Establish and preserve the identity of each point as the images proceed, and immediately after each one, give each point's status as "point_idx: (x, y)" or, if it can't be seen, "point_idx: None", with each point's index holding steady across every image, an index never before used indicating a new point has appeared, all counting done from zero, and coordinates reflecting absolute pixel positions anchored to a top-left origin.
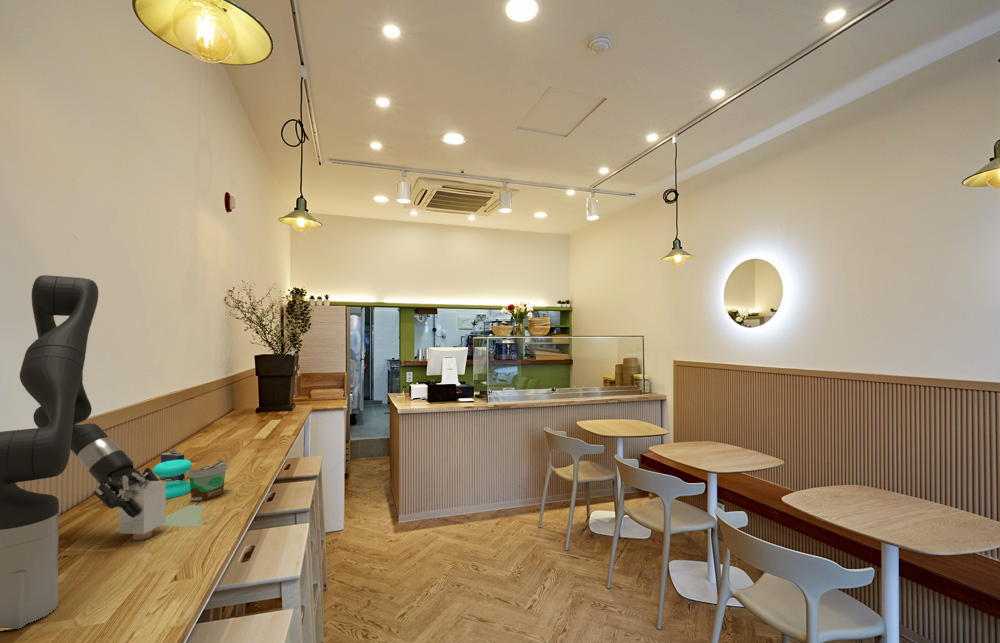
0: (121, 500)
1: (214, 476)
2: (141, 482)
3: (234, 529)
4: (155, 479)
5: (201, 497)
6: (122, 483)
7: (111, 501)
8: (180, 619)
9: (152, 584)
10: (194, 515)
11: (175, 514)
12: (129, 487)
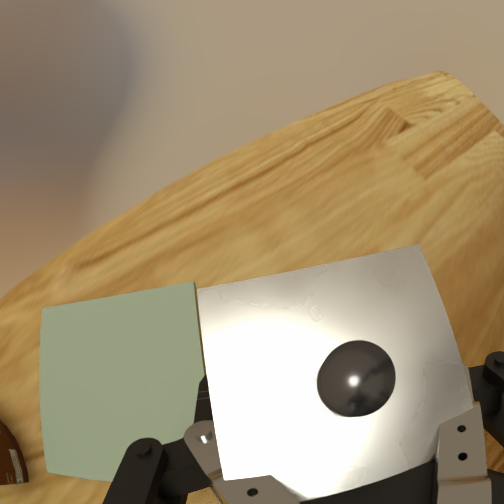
0: (471, 379)
1: None
2: (384, 360)
3: (188, 183)
4: (132, 484)
5: (9, 450)
6: (485, 464)
7: (493, 425)
8: (436, 75)
9: (435, 142)
10: (109, 382)
11: (113, 463)
12: (430, 434)
